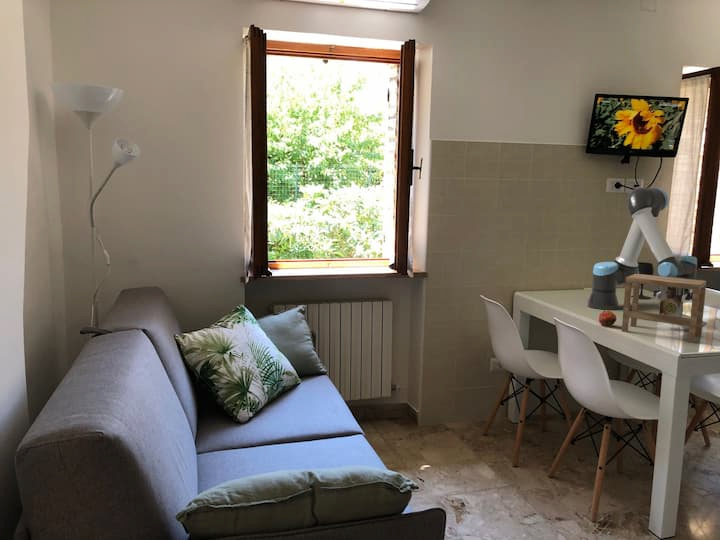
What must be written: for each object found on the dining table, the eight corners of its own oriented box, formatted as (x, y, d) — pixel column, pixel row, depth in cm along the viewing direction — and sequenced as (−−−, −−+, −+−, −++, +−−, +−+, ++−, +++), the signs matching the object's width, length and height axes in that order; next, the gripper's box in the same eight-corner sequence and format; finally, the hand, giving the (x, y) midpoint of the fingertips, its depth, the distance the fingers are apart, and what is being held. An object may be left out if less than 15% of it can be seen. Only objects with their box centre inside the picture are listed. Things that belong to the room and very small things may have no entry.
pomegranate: (617, 332, 260) (614, 315, 267) (618, 322, 255) (615, 305, 262) (600, 332, 262) (597, 316, 269) (600, 322, 258) (597, 305, 264)
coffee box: (682, 316, 259) (685, 280, 257) (681, 318, 254) (684, 282, 251) (659, 313, 264) (662, 279, 262) (658, 316, 258) (661, 280, 256)
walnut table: (631, 325, 265) (635, 273, 261) (701, 335, 247) (706, 280, 243) (621, 331, 254) (625, 277, 250) (693, 342, 236) (699, 285, 232)
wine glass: (653, 299, 325) (656, 264, 322) (633, 299, 327) (636, 264, 324) (648, 296, 335) (651, 262, 332) (629, 295, 337) (631, 261, 334)
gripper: (707, 302, 264) (697, 309, 247) (655, 296, 279) (642, 302, 262) (709, 286, 263) (699, 292, 246) (656, 281, 278) (643, 286, 261)
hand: (669, 297), depth 254 cm, fingers closed on coffee box, 10 cm apart
